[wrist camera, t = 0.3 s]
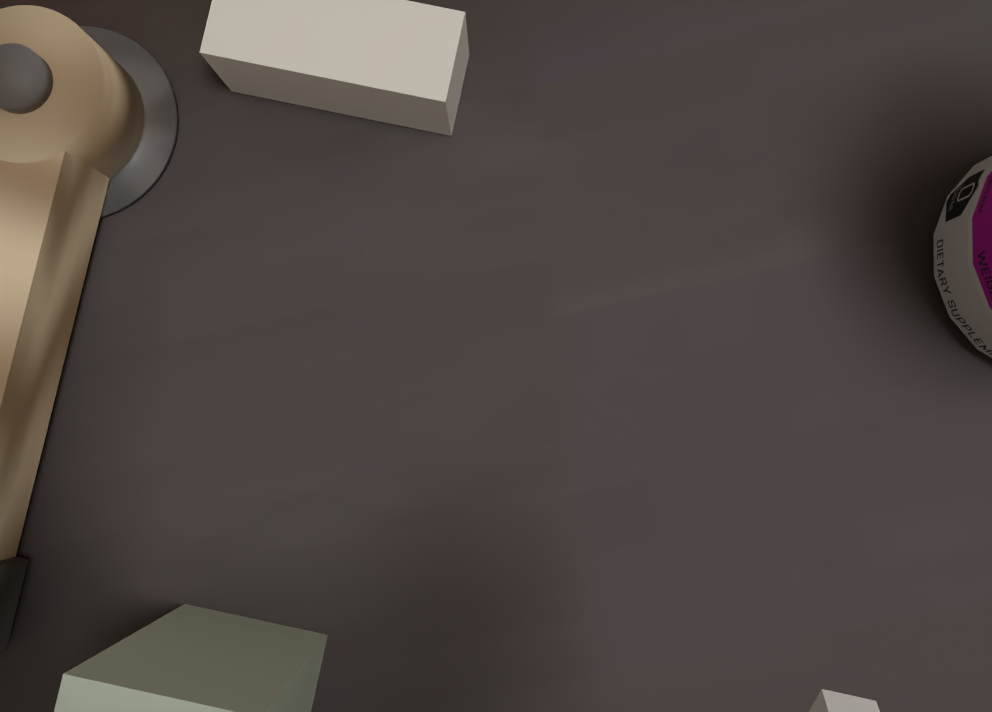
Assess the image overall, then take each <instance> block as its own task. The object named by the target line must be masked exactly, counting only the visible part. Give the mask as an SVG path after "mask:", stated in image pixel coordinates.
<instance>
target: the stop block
mask: <svg viewBox="0 0 992 712" xmlns="http://www.w3.org/2000/svg"><path fill="white" fill-rule="evenodd" d="M200 54H201V55H202V56H203V57H204V58H205V60H206V61H207V62H208V63H209V65H210V66H211V67H212V68H213V69H214V71H215V72H216V73H217V74H218V76H219V77H220V78H221V79H222V80H223V82H224V83H225V84H226V85H227V86H228V88H229V89H230V90H231V91H232V92H237V93H242V94H247V95H251V96H256V97H261V98H266V99H271V100H276V101H281V102H286V103H291V104H296V105H301V106H306V107H311V108H316V109H321V110H326V111H331V112H335V113H340V114H345V115H350V116H355V117H360V118H365V119H370V120H375V121H380V122H385V123H390V124H395V125H400V126H405V127H410V128H415V129H419V130H424V131H429V132H434V133H439V134H444V135H449V136H452V132H453V127H454V122H455V118H456V113H457V109H458V104H459V99H460V95H461V90H462V86H463V81H464V77H465V72H466V67H467V63H468V58H469V48H468V37H467V26H466V15H465V12H462V11H457V10H452V9H447V8H442V7H437V6H432V5H427V4H422V3H417V2H412V1H407V0H212V3H211V7H210V11H209V16H208V20H207V24H206V28H205V32H204V36H203V40H202V44H201V49H200Z"/></svg>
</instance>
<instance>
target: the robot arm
mask: <svg viewBox="0 0 992 712" xmlns="http://www.w3.org/2000/svg"><path fill="white" fill-rule="evenodd" d="M809 712H880V711H879V708H878V706H877V703H876V701H874V700H869V699H865V698H860V697H855V696H851V695H846V694H842V693H837V692H832V691H828V690H823V689H822V690H821V692H820V693H819V695H818V697H817V698H816V700H815V702H814V704H813V705H812V707H811V709H810V711H809Z"/></svg>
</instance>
